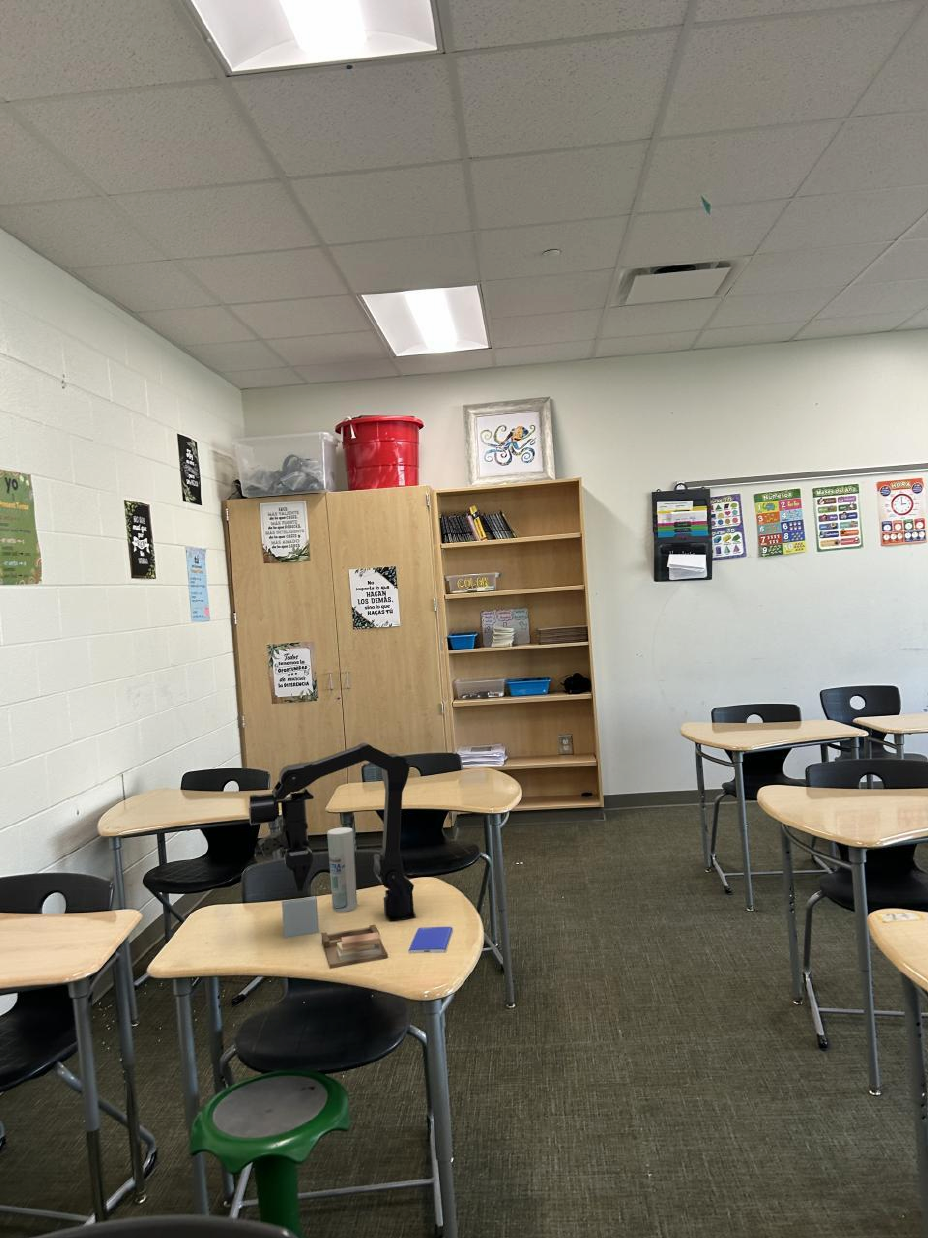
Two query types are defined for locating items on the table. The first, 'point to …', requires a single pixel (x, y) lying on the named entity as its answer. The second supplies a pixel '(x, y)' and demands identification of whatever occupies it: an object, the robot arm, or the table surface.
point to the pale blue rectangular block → (300, 917)
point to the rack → (332, 939)
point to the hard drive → (431, 940)
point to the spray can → (342, 869)
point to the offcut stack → (358, 946)
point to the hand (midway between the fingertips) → (298, 885)
